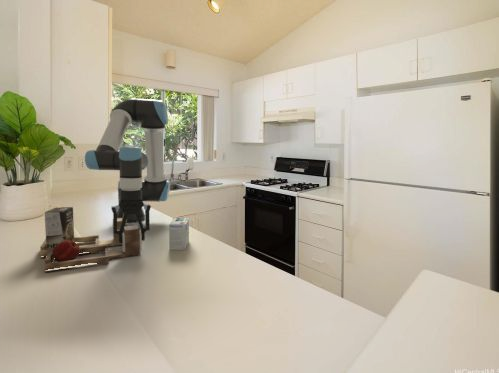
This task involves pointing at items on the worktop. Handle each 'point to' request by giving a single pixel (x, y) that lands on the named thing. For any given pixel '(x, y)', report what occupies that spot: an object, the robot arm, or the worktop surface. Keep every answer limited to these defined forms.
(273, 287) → the worktop surface
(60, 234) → the coffee box
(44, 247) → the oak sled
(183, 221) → the light bulb box
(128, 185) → the robot arm
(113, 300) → the worktop surface
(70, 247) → the apple
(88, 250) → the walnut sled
